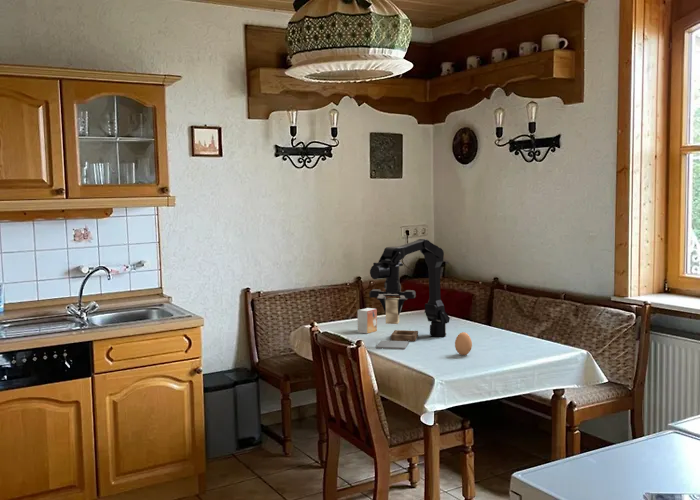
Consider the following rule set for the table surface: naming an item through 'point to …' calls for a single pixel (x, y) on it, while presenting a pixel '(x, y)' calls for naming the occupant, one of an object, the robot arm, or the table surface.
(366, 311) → the small box
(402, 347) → the slate mat
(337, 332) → the table surface
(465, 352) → the egg
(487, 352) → the table surface
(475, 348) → the table surface
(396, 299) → the birch block
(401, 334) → the walnut holder
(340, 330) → the table surface
